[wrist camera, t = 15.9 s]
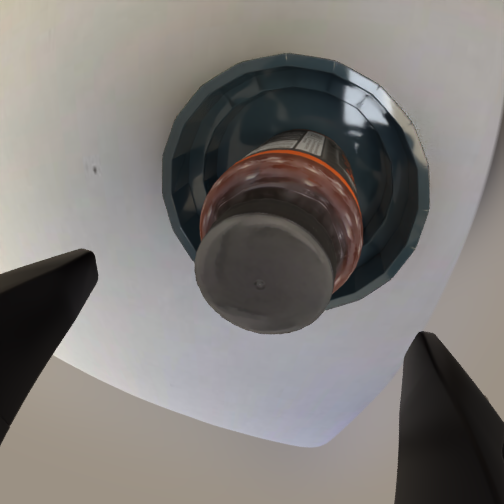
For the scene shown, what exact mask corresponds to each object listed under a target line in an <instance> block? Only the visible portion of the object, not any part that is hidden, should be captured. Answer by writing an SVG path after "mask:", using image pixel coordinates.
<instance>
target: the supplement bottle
mask: <svg viewBox="0 0 504 504" xmlns="http://www.w3.org/2000/svg"><path fill="white" fill-rule="evenodd" d="M200 237H201V243H200V245H199V247H198V250H197V252H196V257H195V275H196V281H197V284H198V286H199V288H200V290H201V293H202V295H203V297H204V298H205V300H206V301H207V303H208V304H209V305H210V306H211V307H212V308H213V309H214V310H215V311H216V312H217V313H218V314H220V316H221V317H222V318H224V319H226V320H227V321H229V322H231V323H232V324H234V325H236V326H238V327H240V328H243V329H245V330H248V331H252V332H256V333H260V334H283V333H290V332H293V331H297V330H300V329H302V328H304V327H306V326H308V325H310V324H311V323H313V322H314V321H315V320H316V319H317V318H318V317H319V316H320V315H321V314H322V313H323V312H324V310H325V309H326V307H327V305H328V304H329V302H330V299H331V296H332V294H333V293H334V292H335V291H336V290H338V289H339V288H340V287H341V286H342V285H343V284H344V283H345V282H346V281H347V280H348V278H349V276H350V275H351V274H352V272H353V271H354V269H355V268H356V266H357V262H358V260H359V257H360V254H361V249H362V246H363V223H362V217H361V211H360V205H359V200H358V195H357V191H356V184H355V180H354V175H353V170H352V168H351V165H350V162H349V161H348V159H347V157H346V155H345V154H344V152H343V150H342V149H341V148H340V147H339V146H338V145H337V144H336V143H335V142H334V141H333V140H331V139H330V138H329V137H327V136H325V135H323V134H321V133H318V132H315V131H311V130H306V129H294V130H289V131H286V132H282V133H280V134H278V135H276V136H274V137H272V138H270V139H269V140H267V141H266V142H265V143H263V144H262V145H260V146H259V147H257V148H256V149H255V150H253V151H252V152H250V153H249V154H248V155H246V156H245V157H244V158H242V159H241V160H239V161H238V162H237V163H235V164H234V165H233V166H232V167H230V168H229V169H228V170H227V171H226V172H224V173H223V174H222V175H221V177H220V178H219V179H218V180H217V181H216V182H215V183H214V185H213V186H212V188H211V189H210V191H209V193H208V194H207V196H206V199H205V200H204V204H203V207H202V211H201V216H200Z"/></svg>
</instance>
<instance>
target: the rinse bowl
mask: <svg viewBox="0 0 504 504" xmlns="http://www.w3.org/2000/svg"><path fill="white" fill-rule="evenodd" d="M294 129H306V130H311V131H315V132H318V133H321V134H323V135H325V136H327V137H329V138H330V139H331V140H333V141H334V142H335V143H336V144H337V145H338V146H339V147H340V148H341V149H342V150H343V152H344V154H345V155H346V157H347V159H348V161H349V162H350V165H351V168H352V170H353V175H354V180H355V184H356V191H357V195H358V200H359V205H360V211H361V217H362V223H363V246H362V249H361V254H360V257H359V260H358V262H357V266H356V268H355V269H354V271H353V272H352V274H351V275H350V276H349V278H348V280H347V281H346V282H345V283H344V284H343V285H342V286H341V287H340V288H339V289H338V290H336V291H335V292H334V293H333V294H332V296H331V299H330V302H329V304H328V305H327V307H326V309H325V310H329V309H332V308H335V307H339V306H342V305H345V304H348V303H352V302H355V301H358V300H360V299H362V298H364V297H366V296H367V295H369V294H370V293H372V292H373V291H375V290H376V289H378V288H379V287H381V286H382V285H384V284H385V283H387V282H388V281H389V280H391V278H393V277H394V275H395V274H396V273H397V272H398V270H399V269H400V268H401V267H402V265H403V264H404V263H405V262H406V260H407V259H408V258H409V257H410V255H411V254H412V253H413V251H414V250H415V248H416V246H417V244H418V241H419V238H420V235H421V233H422V230H423V227H424V224H425V221H426V218H427V215H428V212H429V202H430V189H429V165H428V162H427V159H426V156H425V153H424V151H423V148H422V145H421V142H420V140H419V137H418V135H417V132H416V130H415V127H414V125H413V123H412V121H411V120H410V119H409V118H408V116H407V115H406V114H405V113H404V111H403V110H402V109H401V108H400V107H399V106H398V104H397V103H396V102H395V101H394V100H393V99H392V98H391V96H390V95H389V94H388V93H387V92H386V91H385V90H384V89H383V88H382V86H380V85H379V84H377V83H376V82H374V81H372V80H371V79H369V78H367V77H365V76H364V75H362V74H360V73H358V72H357V71H355V70H353V69H351V68H349V67H347V66H345V65H344V64H342V63H340V62H338V61H335V60H330V59H324V58H319V57H313V56H306V55H299V54H292V53H283V54H277V55H272V56H267V57H262V58H257V59H252V60H247V61H243V62H241V63H238V64H236V65H234V66H232V67H231V68H229V69H227V70H226V71H224V72H222V73H221V74H219V75H218V76H216V77H214V78H213V79H211V80H210V81H208V82H206V83H205V84H203V85H202V86H201V87H200V88H199V89H198V91H197V92H196V93H195V94H194V95H193V97H192V98H191V99H190V100H189V102H188V103H187V104H186V105H185V107H184V108H183V109H182V111H181V112H180V113H179V114H178V116H177V117H176V119H175V121H174V124H173V126H172V129H171V132H170V135H169V138H168V141H167V144H166V147H165V150H164V153H163V158H162V194H163V199H164V202H165V206H166V209H167V212H168V216H169V219H170V222H171V226H172V229H173V231H174V233H175V234H176V236H177V237H178V239H179V241H180V242H181V244H182V245H183V247H184V248H185V250H186V251H187V253H188V255H189V256H190V258H191V259H192V261H194V263H195V257H196V252H197V250H198V247H199V245H200V243H201V237H200V216H201V211H202V207H203V204H204V200H205V199H206V196H207V194H208V193H209V191H210V189H211V188H212V186H213V185H214V183H215V182H216V181H217V180H218V179H219V178H220V177H221V175H222V174H223V173H224V172H226V171H227V170H228V169H229V168H230V167H232V166H233V165H234V164H235V163H237V162H238V161H239V160H241V159H242V158H244V157H245V156H246V155H248V154H249V153H250V152H252V151H253V150H255V149H256V148H257V147H259V146H260V145H262V144H263V143H265V142H266V141H267V140H269V139H270V138H272V137H274V136H276V135H278V134H280V133H282V132H286V131H289V130H294Z"/></svg>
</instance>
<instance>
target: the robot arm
mask: <svg viewBox="0 0 504 504" xmlns="http://www.w3.org/2000/svg"><path fill="white" fill-rule="evenodd" d="M97 281H98V270H97V265H96V259H95V255H94V253H93V252H92V251H89V250H86V249H78V250H74V251H71V252H68V253H64V254H61V255H58V256H55V257H51V258H48V259H45V260H42V261H39V262H36V263H33V264H29V265H26V266H23V267H20V268H17V269H14V270H11V271H8V272H5V273H2V274H0V445H1V443H2V441H3V439H4V437H5V435H6V433H7V432H8V430H9V428H10V425H11V424H12V422H13V420H14V418H15V416H16V414H17V413H18V411H19V409H20V407H21V405H22V403H23V402H24V400H25V398H26V397H27V395H28V393H29V392H30V390H31V388H32V387H33V385H34V383H35V382H36V380H37V378H38V377H39V375H40V374H41V372H42V370H43V369H44V367H45V366H46V364H47V362H48V361H49V359H50V358H51V356H52V355H53V353H54V351H55V350H56V348H57V347H58V345H59V344H60V342H61V341H62V339H63V338H64V336H65V335H66V333H67V332H68V330H69V329H70V328H71V326H72V324H73V323H74V321H75V320H76V318H77V316H78V315H79V313H80V311H81V309H82V307H83V306H84V304H85V302H86V300H87V299H88V297H89V295H90V294H91V292H92V290H93V288H94V287H95V285H96V283H97ZM394 504H504V422H503V421H502V420H501V418H500V417H499V415H498V414H497V412H496V411H495V410H494V408H493V407H492V406H491V404H490V403H489V402H488V400H487V399H486V398H485V396H484V395H483V394H482V392H481V391H480V390H479V388H478V387H477V386H476V384H475V383H474V382H473V381H472V379H471V378H470V377H469V375H468V374H467V373H466V372H465V371H464V369H463V368H462V367H461V365H460V364H459V363H458V362H457V360H456V359H455V358H454V357H453V356H452V354H451V353H450V352H449V351H448V349H447V348H446V347H445V346H444V345H443V343H442V342H441V341H440V340H439V339H438V338H437V336H436V335H435V334H433V333H429V332H424V331H421V332H419V333H418V334H417V335H416V337H415V339H414V340H413V342H412V344H411V345H410V347H409V349H408V351H407V352H406V354H405V357H404V365H403V379H402V391H401V401H400V413H399V452H398V469H397V483H396V493H395V503H394Z"/></svg>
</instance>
